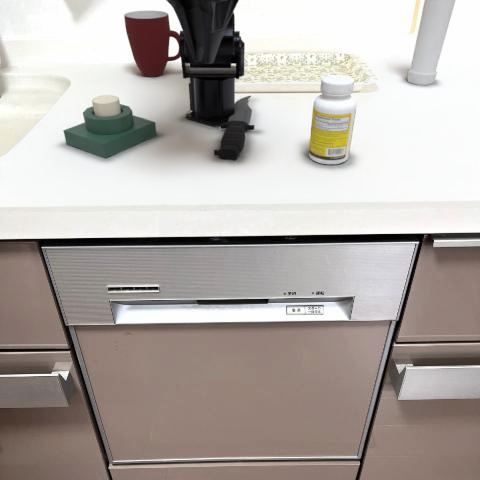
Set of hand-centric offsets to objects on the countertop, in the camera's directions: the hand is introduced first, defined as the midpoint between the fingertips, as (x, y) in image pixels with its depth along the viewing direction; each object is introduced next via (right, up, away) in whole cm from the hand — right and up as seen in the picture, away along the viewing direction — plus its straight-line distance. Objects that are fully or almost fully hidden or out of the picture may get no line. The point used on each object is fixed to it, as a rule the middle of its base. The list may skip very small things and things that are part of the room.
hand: (203, 62), depth 54 cm
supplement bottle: (+16, -8, +10) cm, 20 cm away
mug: (-12, +19, +39) cm, 44 cm away
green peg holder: (-14, -4, +14) cm, 20 cm away
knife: (+4, 0, +18) cm, 19 cm away
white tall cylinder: (+39, +16, +36) cm, 55 cm away
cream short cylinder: (-14, -1, +11) cm, 18 cm away
